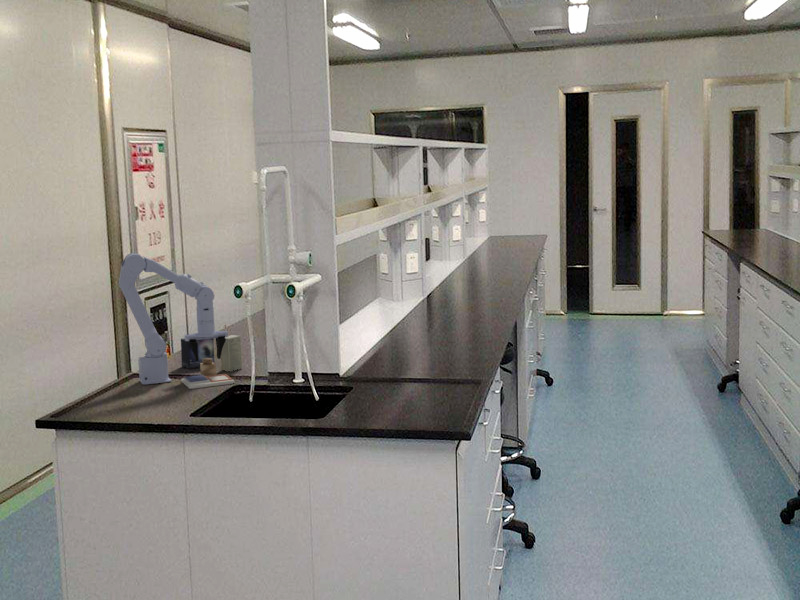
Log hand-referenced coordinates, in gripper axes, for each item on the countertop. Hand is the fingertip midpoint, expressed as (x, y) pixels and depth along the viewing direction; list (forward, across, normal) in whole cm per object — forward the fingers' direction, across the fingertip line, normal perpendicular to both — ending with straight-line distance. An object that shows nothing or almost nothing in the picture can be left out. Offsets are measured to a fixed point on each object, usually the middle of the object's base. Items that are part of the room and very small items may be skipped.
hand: (207, 359), depth 296 cm
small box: (+6, +1, +20) cm, 20 cm away
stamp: (+6, 0, 0) cm, 6 cm away
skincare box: (+6, +10, +6) cm, 13 cm away
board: (+6, -3, -10) cm, 11 cm away
